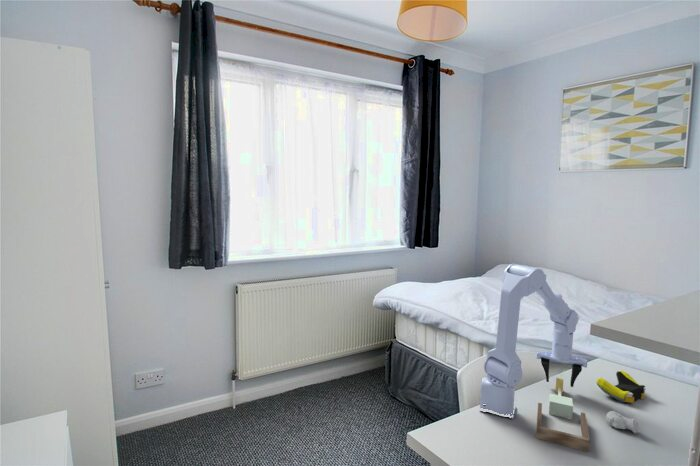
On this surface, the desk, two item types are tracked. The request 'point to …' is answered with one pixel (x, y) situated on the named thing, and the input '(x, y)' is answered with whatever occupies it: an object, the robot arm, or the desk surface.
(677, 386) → the desk surface
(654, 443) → the desk surface
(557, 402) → the tethered block
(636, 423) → the smooth white sculpture
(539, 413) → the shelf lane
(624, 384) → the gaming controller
